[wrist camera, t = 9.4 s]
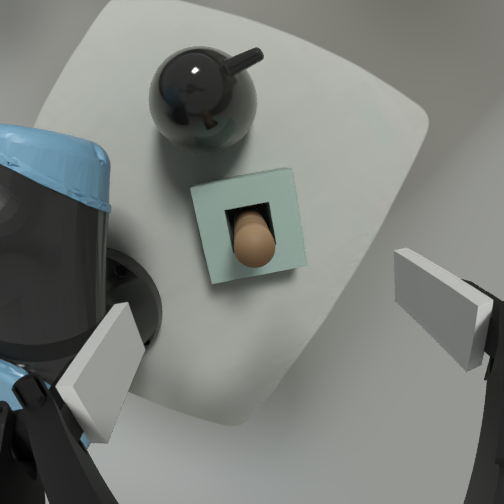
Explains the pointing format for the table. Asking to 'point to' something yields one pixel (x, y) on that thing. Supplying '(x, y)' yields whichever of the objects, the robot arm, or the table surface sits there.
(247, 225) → the peg
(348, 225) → the table surface
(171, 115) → the pump dispenser
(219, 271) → the socket block
